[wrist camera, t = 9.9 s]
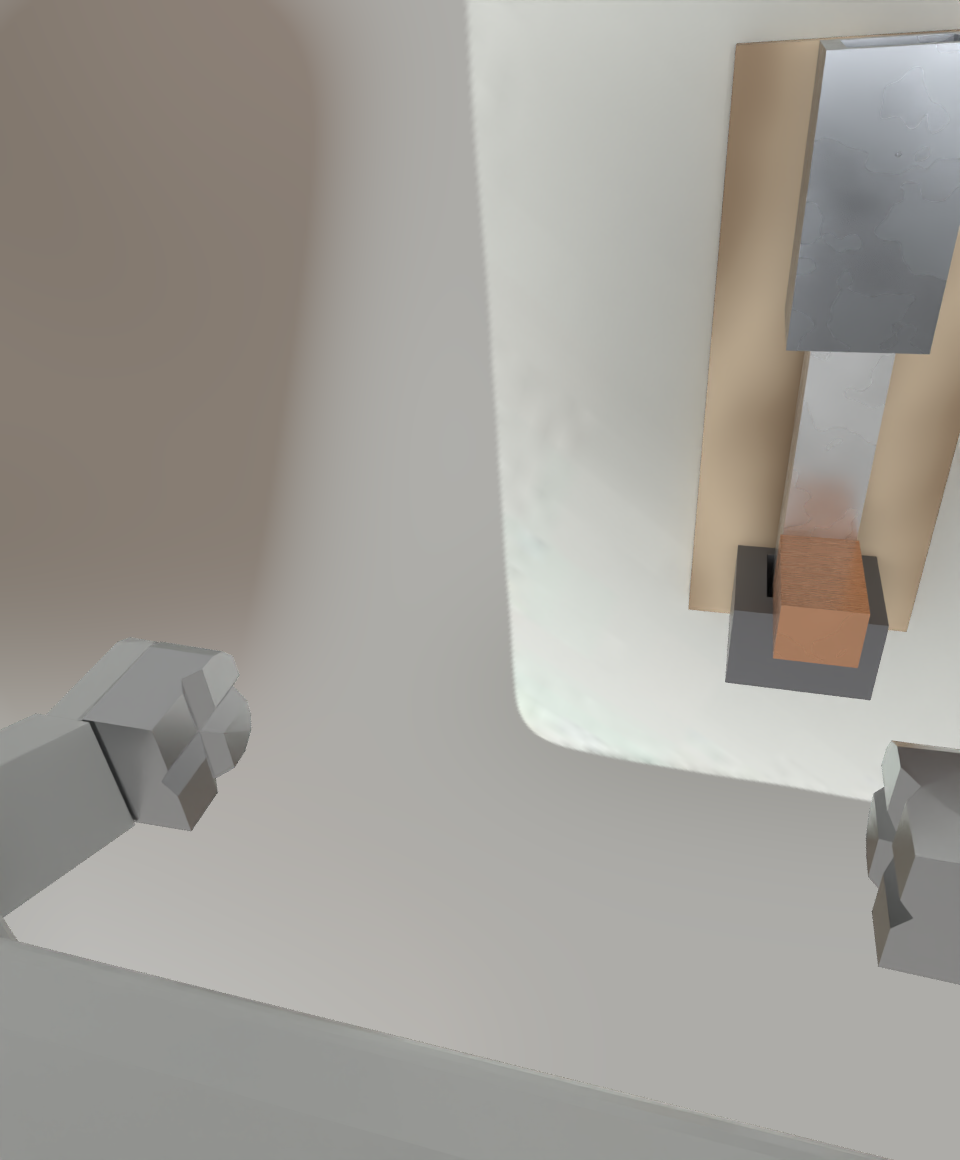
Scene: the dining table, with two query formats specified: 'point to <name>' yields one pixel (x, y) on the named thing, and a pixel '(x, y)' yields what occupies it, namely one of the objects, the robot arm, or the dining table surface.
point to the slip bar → (827, 509)
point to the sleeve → (877, 196)
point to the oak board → (772, 375)
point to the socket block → (755, 635)
